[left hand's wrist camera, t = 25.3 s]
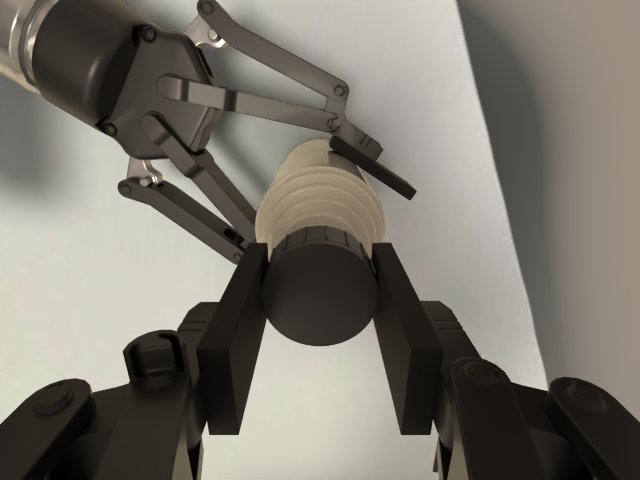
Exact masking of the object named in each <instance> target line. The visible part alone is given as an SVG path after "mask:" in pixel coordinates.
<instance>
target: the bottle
mask: <svg viewBox="0 0 640 480" xmlns="http://www.w3.org/2000/svg"><path fill="white" fill-rule="evenodd" d="M329 141H330V140H327V139H313V140H309V141H306V142H303V143H301V144H300V145H298V146H297V147H295V148H294V149H293V150H292V151H291V152H290V153H289V154H288V156H287V157H286V159H285V161H284V162H283V164H282V166H281V167H280V169H279V171H278V173H277V174H276V176H275V178H274V180H273V181H272V183H271V185H270V186H269V188H268V190H267V192H266V193H265V195H264V197H263V199H262V200H261V202H260V205H259V207H258V210H257V214H256V219H255V235H256V240H257V243H268V258H269V260H270V256H271V253H272V250H273V248H276V246H277V245H278V244H279V243H280V241H281V240H283V239H284V238H285V237H286V235H287V234H288V235H289V234H291V233H292V232H294V231H296V230H299V229H302V228H305V226H307V227H309V226H318V225H320V226H325V225H328V226H330V227H335V228H338V229H341V230H343V231H345V230H346V231H347V233H349V234H351V235H352V236H353V237H355V238H356V239H357V240H358V241H359V242H360V243H361V242H362V243H363V246H364V248H365V250H366V251H367V253H368V255H369V258H371V254H372V243H383V240H384V236H385V219H384V214H383V210H382V207H381V204H380V202H379V200H378V198H377V197H376V195H375V193H374V191H373V190H372V188H371V186H370V184H369V183H368V181H367V179H366V178H365V176H364V174H363V172H362V171H361V169H360V167H359V166H357V165H356V164H354V163H352V162H351V161H350V160H348V159H346V158H345V157H343V156H342V155H340V154H339V153H337V152H336V151H334V150H333V149H331V148H330V147H329Z"/></svg>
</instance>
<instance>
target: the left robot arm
mask: <svg viewBox="0 0 640 480" xmlns="http://www.w3.org/2000/svg"><path fill="white" fill-rule="evenodd" d="M371 259H372V262H373V265H374V268H375V271H376V274H377V276H375V277H376V280H377V283H378V300H377V309H376V312H375V314H374V316H373V321H374V325H375V329H376V333H377V337H378V341H379V346H380V350H381V354H382V358H383V362H384V366H385V370H386V374H387V379H388V383H389V387H390V391H391V395H392V399H393V403H394V407H395V412H396V416H397V420H398V424H399V428H400V432H401V435H430V434H431V428H432V421H434V423H435V426H436V429H437V432H438V435H439V437H438V443H437V448H436V454H435V460H434V467H433V472H439V480H640V422H639V421H638V420H637V419H636V418H635V417H634V416H633V415H632V414H631V413H630V412H628V410H626V409H625V408H624V407H623V406H622V405H621V404H620V403H619V402H618V401H617V400H616V399H615V398H614V397H613V396H611V395H610V394H609V393H608V392H606V391H605V390H604V389H602V388H600V387H598V386H596V385H594V384H592V383H590V382H587V381H584V380H581V379H578V378H570V377H562V378H557V379H555V380H553V381H552V382H551V383H550V386H549V389H548V391H545V390H540V389H536V388H531V387H527V386H523V385H519V384H516V383H513V382H511V381H510V379H509V378H508V376H507V375H506V373H505V372H504V371H503V370H502V369H500V368H499V367H498V366H497V365H495V364H493V363H491V362H489V361H487V360H484V359H482V358H481V357H480V355H479V353H478V352H477V350H476V349H475V347H474V345H473V344H472V342H471V341H470V339H469V337H468V336H467V334H466V333H465V331H464V330H463V328H462V326H461V325H460V323H459V322H457V318H456V317H455V315H454V314H453V312H452V310H451V309H450V308H448V307H447V306H445V305H444V304H443V303H441V302H440V301H420V300H419V298H418V296H417V294H416V292H415V290H414V288H413V286H412V284H411V282H410V280H409V278H408V276H407V274H406V272H405V270H404V268H403V266H402V264H401V262H400V260H399V258H398V256H397V254H396V252H395V250H394V248H393V246H392V244H391V243H372V254H371ZM268 263H269V258H268V243H248V245H247V247H246V249H245V252H244V254H243V256H242V258H241V260H240V262H239V264H238V266H237V268H236V270H235V272H234V274H233V276H232V278H231V280H230V282H229V284H228V286H227V288H226V290H225V292H224V294H223V296H222V298H221V300H220V302H200V303H199V304H197V305H196V306H195V307H193V308H192V309H191V310H189V311H188V313H187V315H186V316H185V318H184V319H183V322H182V323H181V324H180V326H179V327H178V329H177V331H173V330H158V331H153V332H149V333H146V334H144V335H142V336H139V337H137V338H136V339H134V340H133V341H132V342H130V343H129V344H128V345H127V346H126V348H125V349H124V350H123V355H124V359H125V363H126V367H127V371H128V375H129V379H130V382H129V384H126V385H122V386H119V387H115V388H111V389H106V390H102V391H98V392H93V393H92V390H91V387H90V385H89V384H88V383H87V382H86V381H85V380H81V379H76V378H75V379H66V380H61V381H58V382H55V383H52V384H49V385H47V386H45V387H44V388H42V389H40V390H38V391H36V392H35V393H33V394H32V395H31V396H30V397H28V398H27V399H26V400H25V401H24V402H23V403H22V404H21V405H20V406H19V407H18V408H17V409H16V410H15V411H13V412H12V413H11V414H10V415H9V416H8V417H7V418H6V419H5V420H4V421H3V422H2V423H1V424H0V480H201V472H202V462H203V452H204V450H203V443H202V437H201V436H202V433H203V430H204V427H205V425H206V422H207V423H208V429H209V435H239V431H240V427H241V423H242V419H243V415H244V411H245V406H246V402H247V398H248V394H249V390H250V386H251V382H252V378H253V373H254V369H255V365H256V361H257V357H258V353H259V349H260V345H261V340H262V336H263V332H264V328H265V324H266V320H267V317H266V315H265V313H264V310H263V303H262V282H263V279H264V276H265V272H266V269H267V266H268Z"/></svg>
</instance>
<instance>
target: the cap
mask: <svg viewBox="0 0 640 480" xmlns="http://www.w3.org/2000/svg"><path fill="white" fill-rule="evenodd" d="M375 276H377V274H376V271H375V268H374V265H373V262H372V259H371V258H369V255H368V253H367V251H366V250H365V248H364V246H363V243H362V242H361V243H360V242H359V241H358V240H357V239H356V238H355V237H353V236H352V235H351V234H349V233H347V231H346V230H345V231H343V230H341V229H338V228H335V227H330V226H328V225H325V226H320V225H318V226H309V227H307V226H305V228H302V229H299V230H296V231H294V232H292V233H291V234H289V235H288V234H287V235H286V237H285V238H284V239H283V240H281V241H280V243H279V244H278V245H277V246H276V248H273V250H272V253H271V256H270V260H269V263H268V266H267V269H266V272H265V276H264V279H263V282H262V303H263V310H264V313H265V315H266V317H267V318H268V320H269V322H270V323H271V324H272V325H273V327H274V328H275V329H276V330H277V331H279V332H280V333H281V334H282V335H284V336H285V337H287V338H289V339H291V340H293V341H295V342H298V343H301V344H305V345H311V346H329V345H335V344H338V343H342V342H344V341H347V340H349V339H351V338H352V337H354V336H356V335H357V334H358V333H360V332H361V331H362V330H363V329H364V328H365V327H366V326H367V325H368V324H369V322H370V321H371V319H372V318H373V316H374V314H375V312H376V309H377V300H378V283H377V280H376V277H375Z"/></svg>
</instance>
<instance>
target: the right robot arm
mask: <svg viewBox="0 0 640 480" xmlns="http://www.w3.org/2000/svg"><path fill="white" fill-rule="evenodd" d="M197 10H198V13H199V14H198V15H197V17H196V18H195V19H194V20H193V22H192V23H191V24H190V26H189V27H188V28H187V30H186V31H185V32H184V33H180V32H171V31H166V30H164V29H162V28H161V27H159V26H158V25H156V24H155V23H153V22H152V21H150V20H149V19H147V18H146V17H144V16H143V15H141V14H140V13H138V12H137V11H135V10H134V9H132V8H131V7H129V6H128V5H126V4H125V3H123V2H122V1H120V0H0V74H2V75H4V76H5V77H7V78H9V79H10V80H12V81H14V82H15V83H17V84H19V85H20V86H22V87H24V88H25V89H27V90H29V91H31V92H33V93H35V94H41V95H42V96H43V97H44V98H45V99H46V100H47V101H49V102H50V103H52V104H54V105H55V106H57V107H59V108H60V109H62V110H64V111H66V112H67V113H69V114H71V115H72V116H74V117H76V118H78V119H79V120H81V121H83V122H84V123H86V124H88V125H90V126H91V127H93V128H95V129H96V130H98V131H100V132H102V133H104V134H106V135H108V136H110V137H112V138H113V139H115V140H116V141H117V142H118V143H119V144H120V145H121V147H122V148H123V150H124V151H125V152H126V153H127V154H128V155H129V156H130V160H129V166H128V172H127V178H126V179H125V180H122V181H121V182H119V184H118V191H119V193H120V194H121V195H122V196H124V197H126V198H129V199H133V200H136V201H139V202H142V203H145V204H148V205H150V206H152V207H153V208H155V209H156V210H158V211H159V212H161V213H162V214H163V215H165V216H166V217H168V218H169V219H171V220H172V221H173V222H175V223H176V224H178V225H179V226H181V227H182V228H183V229H185V230H186V231H188V232H189V233H191V234H192V235H193V236H195V237H196V238H198V239H199V240H201V241H202V242H204V243H205V244H206V245H208V246H209V247H211V248H212V249H214V250H215V251H216V252H218V253H219V254H221V255H222V256H224V257H225V258H226V259H228V260H229V261H231V262H232V263H234V264H236V265H238V264H239V262H240V260H241V258H242V256H243V254H244V252H245V249H246V247H247V245H248V243H257V240H256V235H255V219H256V214H257V212H256V211H255V210H254V208H253V207H252V206H251V205H250V204H249V202H248V201H247V200H246V199H245V198H244V197H243V195H242V194H241V193H240V192H239V191H238V189H237V188H236V187H235V186H234V185H233V184H232V182H231V181H230V180H229V179H228V178H227V176H226V175H225V174H224V173H223V172H222V170H221V169H220V168H219V167H218V166H217V165H216V163H215V162H214V159H213V157H212V155H211V154H210V153H209V152H208V150H207V149H206V148H205V147H206V145H207V143H208V141H209V138H210V133H211V128H212V127H213V126H214V124H215V123H216V122H217V121H218V120H219V119H220V117H221V115H222V113H223V111H224V110H227V111H233V112H238V113H243V114H247V115H252V116H256V117H261V118H265V119H270V120H274V121H279V122H283V123H288V124H292V125H297V126H301V127H306V128H310V129H315V130H319V131H324V132H328V133H330V134H332V135H333V137H332V138H331V140H330V141H329V147H330V148H331V149H333V150H334V151H336V152H337V153H339V154H340V155H342V156H343V157H345V158H346V159H348V160H350V161H351V162H352V163H354V164H356V165H357V166H359V167H360V168H362V169H363V170H365V171H366V172H368V173H369V174H371V175H372V176H374V177H375V178H377V179H378V180H380V181H381V182H383V183H384V184H386V185H387V186H389V187H390V188H392V189H393V190H395V191H396V192H398V193H399V194H401V195H402V196H404V197H405V198H407V199H408V200H411V199H412V197H413V196H414V195H415V193H416V192H417V191H416V190H415V189H414V188H413V187H412V186H411V185H410V184H409V183H407V182H406V181H404V180H403V179H402V178H400V177H399V176H397V175H396V174H394V173H393V172H391V171H390V170H388V169H387V168H385V167H384V166H382V165H381V164H379V163H378V162H376V160H377V158H378V157H379V155H380V154H381V153H382V151H383V149H382V147H381V146H380V144H379V143H378V142H377V141H375V140H374V139H372V138H371V137H369V136H368V135H367V134H365V133H364V132H362V131H361V130H359V129H358V128H356V127H355V126H354V125H352V124H351V123H349V122H348V121H347V120H346V118H345V115H344V110H345V105H346V101H347V97H348V94H349V87H348V85H347V84H346V83H345V82H344V81H342V80H340V79H339V78H337V77H335V76H333V75H331V74H329V73H327V72H325V71H324V70H322V69H320V68H318V67H316V66H314V65H312V64H310V63H309V62H307V61H305V60H303V59H301V58H299V57H297V56H296V55H294V54H292V53H290V52H288V51H286V50H284V49H282V48H281V47H279V46H277V45H275V44H273V43H271V42H269V41H267V40H266V39H264V38H262V37H260V36H258V35H256V34H254V33H252V32H251V31H249V30H247V29H245V28H243V27H241V26H240V25H239V24H238V23H237V22H236V21H235V20H234V19H233V18H232V17H231V16H230V14H229V13H228V12H227V11H226V10H225V9H224V8H223V7H222V6H221V5H220V4H219V3H218V2H216V1H215V0H199V1H198V3H197ZM206 45H211V46H213V47H214V48H216V49H219V50H223V49H225V48H226V47H228V45H230V46H232V47H234V48H235V49H237V50H239V51H240V52H242V53H244V54H245V55H247V56H249V57H251V58H253V59H255V60H257V61H259V62H261V63H263V64H265V65H266V66H268V67H270V68H272V69H274V70H276V71H278V72H280V73H282V74H284V75H286V76H288V77H289V78H291V79H293V80H295V81H297V82H299V83H301V84H303V85H305V86H307V87H309V88H311V89H312V90H314V91H316V92H318V93H320V94H322V95H324V96H326V97H327V101H326V106H325V110H322V109H318V108H313V107H309V106H304V105H300V104H296V103H291V102H287V101H282V100H278V99H273V98H269V97H265V96H260V95H256V94H251V93H247V92H243V91H239V90H235V89H230V88H226V87H221V86H218V85H217V83H216V81H215V78H214V76H213V74H212V72H211V70H210V67H209V65H208V63H207V61H206V59H205V57H204V54H203V52H202V50H201V48H202V47H203V46H206ZM157 159H170V160H171V161H172V163H173V164H174V165H175V166H176V167H177V168H178V169H179V170H180V172H181V173H182V174H183V175H184V176H186V177H188V178H190V179H191V180H192V181H193V182H194V183H195V184H196V185H197V186H198V187H199V188H200V190H201V191H202V192H203V193H204V194H205V195H206V196H207V198H208V199H209V200H210V201H211V202H212V203H213V204H214V205H215V207H216V208H217V209H218V210H219V211H220V212H221V213H222V214H223V216H224V217H225V218H226V219H227V220H228V221H229V222H230V224H231V225H232V226H233V227H234V228H235V229H236V230H235V229H234V228H233V227H231V226H230V225H229V224H227V223H226V222H224V221H223V220H222V219H220V218H219V217H218V216H216V215H215V214H213V213H212V212H211V211H209V210H208V209H206V208H205V207H204V206H202V205H201V204H200V203H198V202H197V201H195V200H194V199H193V198H191V197H190V196H189V195H187V194H186V193H184V192H183V191H182V190H180V189H179V188H177V187H176V186H174V185H173V184H171V183H169V182H167V181H165V180H163V175H162V173H160V172H159V171H157V170H156V169H154V168H153V166H152V165H151V160H157Z"/></svg>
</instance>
